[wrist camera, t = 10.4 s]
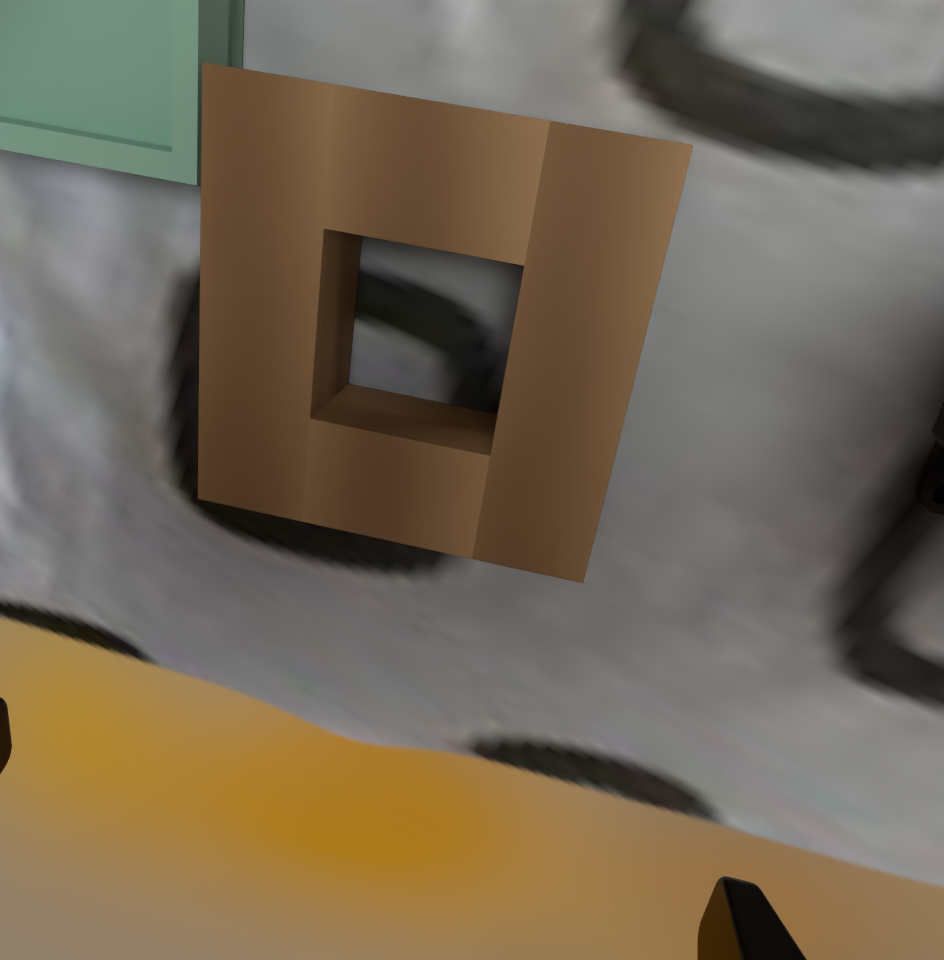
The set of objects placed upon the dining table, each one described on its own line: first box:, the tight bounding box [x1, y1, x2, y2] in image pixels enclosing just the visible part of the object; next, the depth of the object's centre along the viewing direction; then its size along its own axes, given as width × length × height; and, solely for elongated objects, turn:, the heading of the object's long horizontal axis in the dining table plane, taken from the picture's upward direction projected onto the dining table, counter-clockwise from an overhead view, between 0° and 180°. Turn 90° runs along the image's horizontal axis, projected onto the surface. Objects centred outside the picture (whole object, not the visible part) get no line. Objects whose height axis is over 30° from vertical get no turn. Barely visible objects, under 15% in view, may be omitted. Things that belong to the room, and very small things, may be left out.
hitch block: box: [198, 62, 693, 583], centre depth 19 cm, size 10×10×3 cm
